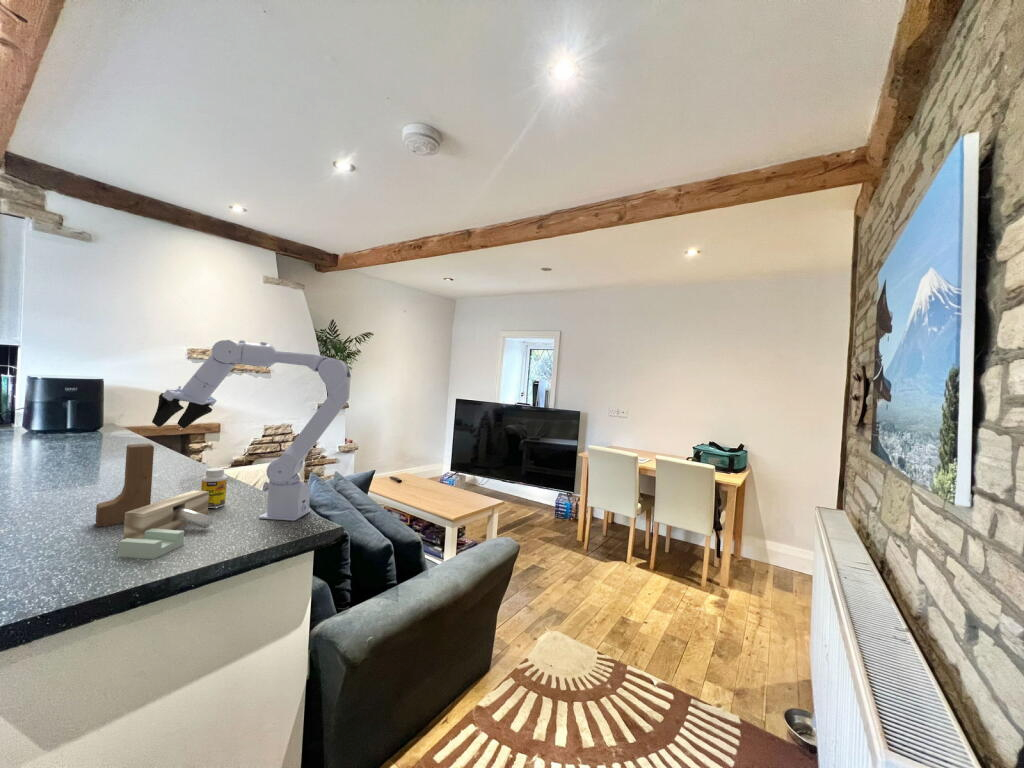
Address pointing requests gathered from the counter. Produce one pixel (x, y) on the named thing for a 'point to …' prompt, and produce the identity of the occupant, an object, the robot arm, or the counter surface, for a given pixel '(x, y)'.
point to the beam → (163, 514)
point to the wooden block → (130, 486)
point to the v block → (151, 544)
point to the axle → (192, 517)
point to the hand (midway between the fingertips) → (168, 425)
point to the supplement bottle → (215, 486)
